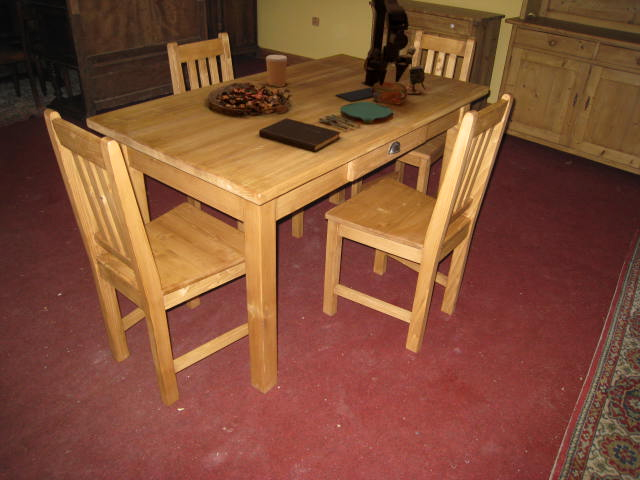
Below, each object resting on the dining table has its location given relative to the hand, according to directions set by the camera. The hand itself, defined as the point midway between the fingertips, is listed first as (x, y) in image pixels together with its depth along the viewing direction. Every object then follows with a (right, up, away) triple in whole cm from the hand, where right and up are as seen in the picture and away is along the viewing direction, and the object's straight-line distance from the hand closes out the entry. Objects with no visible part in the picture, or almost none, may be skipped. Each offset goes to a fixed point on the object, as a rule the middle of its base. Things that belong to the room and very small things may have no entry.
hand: (389, 83), depth 211 cm
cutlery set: (-14, -18, -14) cm, 26 cm away
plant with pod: (+13, +1, +18) cm, 22 cm away
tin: (0, -7, +4) cm, 8 cm away
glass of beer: (-48, +6, +21) cm, 53 cm away
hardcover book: (-35, -29, -33) cm, 57 cm away
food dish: (-57, -10, -4) cm, 58 cm away
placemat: (-11, -1, +12) cm, 16 cm away
